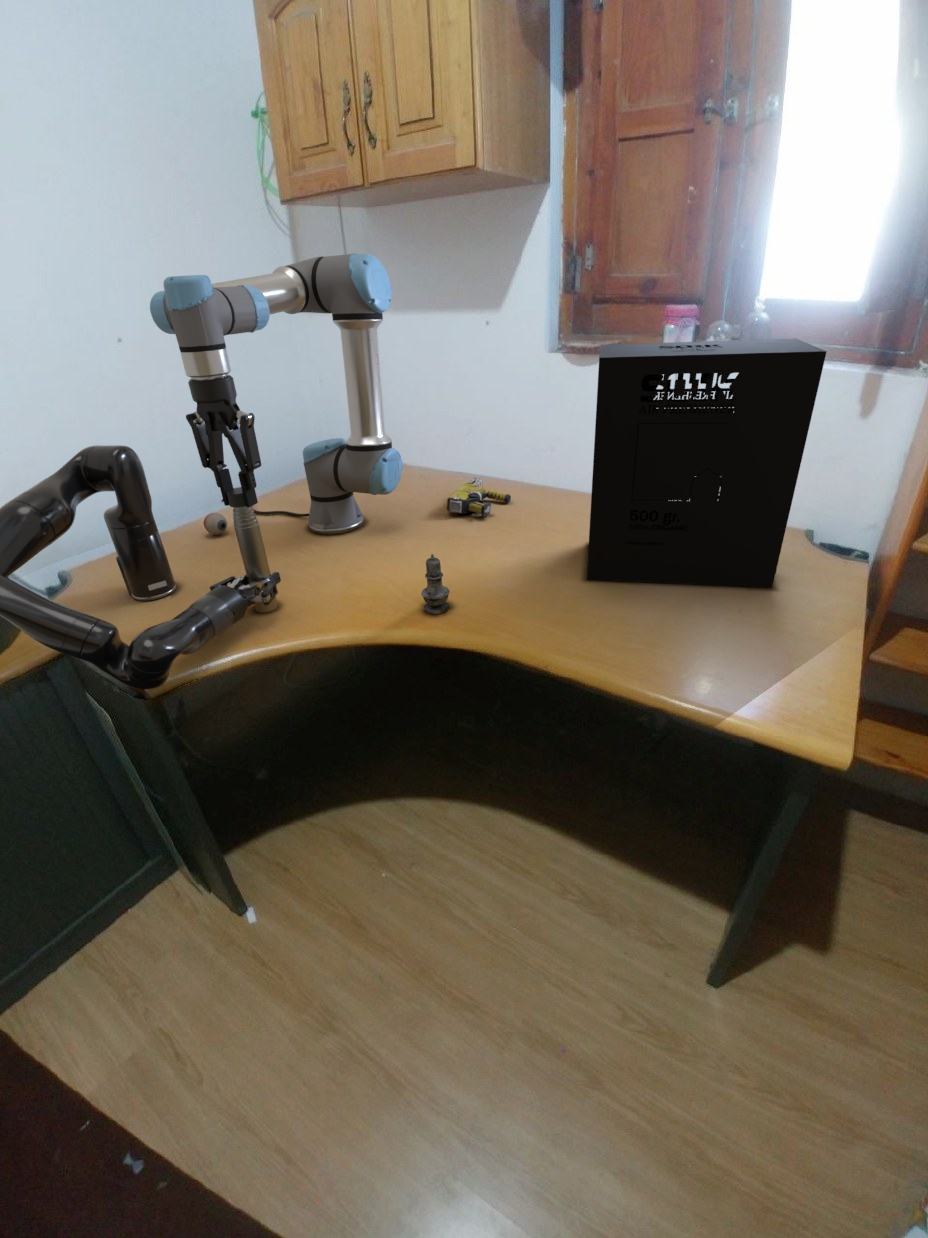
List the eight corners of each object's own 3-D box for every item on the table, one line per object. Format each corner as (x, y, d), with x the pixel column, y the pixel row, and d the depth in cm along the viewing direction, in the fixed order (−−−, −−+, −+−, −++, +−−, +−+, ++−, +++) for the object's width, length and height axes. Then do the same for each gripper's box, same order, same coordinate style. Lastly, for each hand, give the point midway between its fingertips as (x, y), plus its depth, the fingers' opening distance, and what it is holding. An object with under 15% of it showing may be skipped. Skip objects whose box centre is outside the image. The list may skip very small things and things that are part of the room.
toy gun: (519, 482, 184) (472, 475, 188) (496, 505, 164) (445, 497, 168) (517, 497, 186) (471, 490, 190) (495, 522, 166) (444, 513, 170)
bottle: (270, 613, 126) (242, 496, 114) (251, 611, 127) (220, 496, 115) (282, 603, 130) (255, 489, 118) (262, 601, 131) (234, 488, 119)
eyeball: (217, 539, 164) (211, 518, 161) (202, 535, 167) (196, 515, 164) (234, 532, 168) (229, 511, 166) (220, 528, 172) (214, 508, 169)
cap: (245, 507, 115) (242, 494, 114) (225, 507, 116) (221, 494, 115) (256, 500, 119) (253, 487, 117) (236, 499, 120) (233, 486, 118)
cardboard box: (752, 548, 142) (795, 338, 119) (772, 587, 124) (826, 351, 102) (589, 543, 149) (600, 344, 127) (586, 579, 132) (599, 357, 110)
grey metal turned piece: (447, 614, 122) (443, 560, 116) (419, 613, 123) (413, 559, 117) (453, 601, 127) (450, 548, 121) (426, 599, 128) (421, 547, 122)
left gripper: (190, 625, 118) (244, 586, 132) (251, 634, 114) (300, 593, 127) (178, 591, 114) (235, 555, 128) (241, 599, 110) (293, 561, 124)
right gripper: (264, 372, 106) (290, 500, 118) (185, 373, 111) (217, 495, 123) (237, 379, 100) (267, 513, 112) (155, 379, 105) (192, 507, 117)
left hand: (267, 574), depth 128 cm, fingers closed on bottle, 4 cm apart
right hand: (241, 503), depth 117 cm, fingers closed on cap, 4 cm apart
